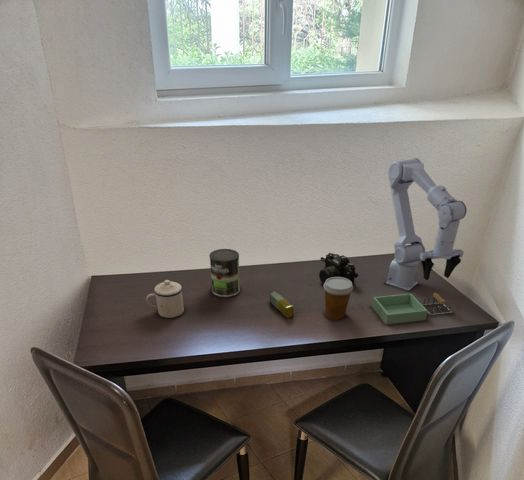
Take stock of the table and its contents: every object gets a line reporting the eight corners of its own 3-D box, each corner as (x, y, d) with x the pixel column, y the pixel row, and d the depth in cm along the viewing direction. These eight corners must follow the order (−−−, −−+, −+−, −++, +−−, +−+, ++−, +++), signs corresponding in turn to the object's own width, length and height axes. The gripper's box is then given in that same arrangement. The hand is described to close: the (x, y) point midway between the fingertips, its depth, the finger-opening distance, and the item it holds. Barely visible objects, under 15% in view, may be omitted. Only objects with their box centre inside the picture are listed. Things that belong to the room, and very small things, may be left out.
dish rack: (429, 316, 155) (432, 303, 152) (419, 306, 160) (422, 293, 157) (452, 313, 156) (456, 300, 153) (442, 303, 161) (445, 290, 158)
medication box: (270, 302, 162) (269, 293, 159) (276, 300, 163) (275, 290, 160) (287, 318, 153) (286, 308, 151) (294, 315, 154) (293, 305, 151)
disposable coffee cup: (331, 325, 150) (334, 292, 143) (315, 311, 157) (318, 280, 150) (355, 318, 154) (359, 285, 147) (338, 305, 160) (342, 273, 153)
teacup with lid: (184, 303, 161) (180, 273, 154) (184, 317, 154) (181, 286, 147) (149, 306, 159) (144, 276, 153) (148, 320, 152) (142, 289, 145)
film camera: (305, 280, 175) (307, 256, 169) (324, 269, 183) (326, 245, 177) (345, 295, 166) (348, 270, 160) (363, 283, 174) (366, 258, 168)
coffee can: (232, 299, 164) (231, 262, 155) (207, 294, 167) (204, 257, 158) (244, 286, 171) (243, 251, 163) (219, 281, 174) (217, 246, 166)
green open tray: (385, 325, 150) (387, 315, 148) (371, 307, 159) (373, 297, 157) (425, 321, 152) (427, 310, 150) (408, 303, 162) (411, 293, 159)
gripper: (430, 246, 145) (421, 284, 153) (472, 242, 147) (461, 281, 155) (420, 237, 150) (412, 275, 158) (460, 234, 153) (450, 271, 161)
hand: (436, 277), depth 157 cm, fingers open, 7 cm apart
